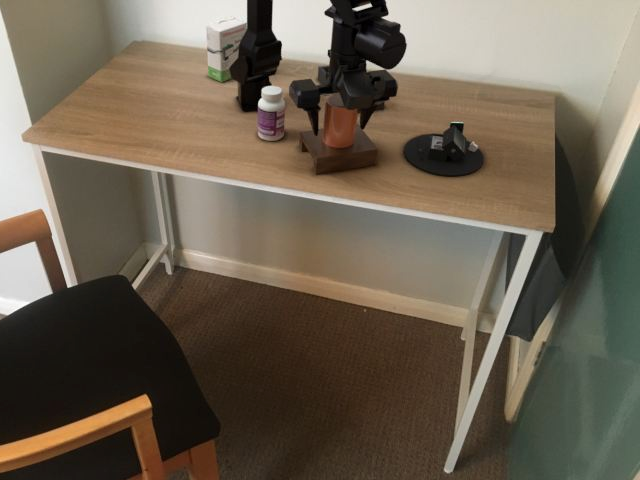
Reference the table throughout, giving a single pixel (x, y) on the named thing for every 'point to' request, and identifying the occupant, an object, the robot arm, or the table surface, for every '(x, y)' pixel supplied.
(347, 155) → the brown wooden riser
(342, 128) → the cup
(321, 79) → the tray
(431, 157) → the black round base
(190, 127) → the table surface
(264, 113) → the pill bottle
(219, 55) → the ink box
